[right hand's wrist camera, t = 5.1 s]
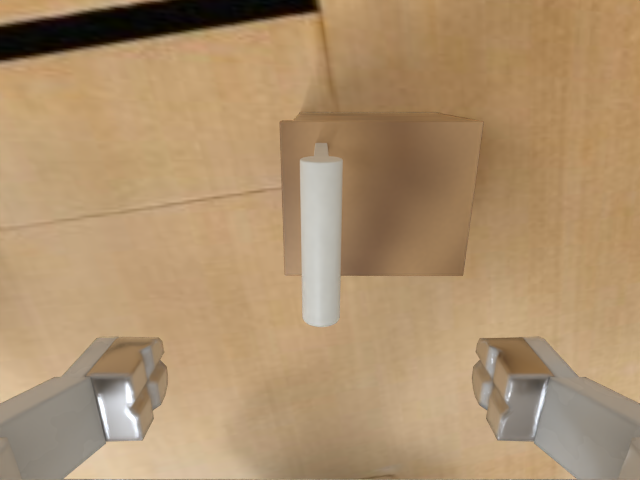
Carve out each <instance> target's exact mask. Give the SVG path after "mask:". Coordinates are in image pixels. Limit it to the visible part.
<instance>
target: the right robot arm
mask: <svg viewBox="0 0 640 480" xmlns="http://www.w3.org/2000/svg"><path fill="white" fill-rule="evenodd" d="M163 353H164V348H163V343H162V340H161V339H159V338H149V337H100V338H96V339H95V341H94V342H93V343H92V344H91V345H90V346H89V347H88V348H87V349H86V350H85V351H84V353H83V354H82V355H81V356H80V357H79V358H78V359H77V360H76V361H75V362H74V363H73V365H72V366H71V367H70V368H69V369H68V370H67V371H66V372H65V373H64V374H63V375H62V377H54V378H52V379H50V380H48V381H46V382H44V383H41V384H39V385H37V386H35V387H33V388H31V389H29V390H27V391H25V392H23V393H21V394H19V395H17V396H15V397H13V398H11V399H9V400H7V401H5V402H3V403H1V404H0V480H640V404H639V403H637V402H635V401H633V400H631V399H629V398H627V397H625V396H623V395H621V394H619V393H617V392H615V391H613V390H611V389H609V388H607V387H605V386H603V385H601V384H598V383H596V382H594V381H592V380H590V379H588V378H586V377H578V375H577V374H576V373H575V372H574V371H573V370H572V369H571V368H570V367H569V366H568V365H567V363H566V362H565V361H564V360H563V359H562V358H561V357H560V356H559V355H558V354H557V353H556V351H555V350H554V349H553V348H552V347H551V346H550V345H549V344H548V343H547V342H546V340H545V339H543V338H541V337H519V338H480V339H479V341H478V343H477V347H476V353H477V355H478V357H479V359H480V360H479V361H478V363H477V364H476V365H475V366H474V367H473V374H472V383H473V390H474V394H475V397H476V399H477V401H478V403H479V405H480V406H482V407H483V408H485V409H486V410H487V417H486V419H487V421H488V423H489V425H490V427H491V429H492V431H493V433H494V435H495V437H496V438H497V440H502V441H534V444H536V445H537V446H538V447H539V448H541V449H542V450H543V451H544V452H545V453H547V454H548V455H549V456H550V457H551V458H553V459H554V460H555V461H556V462H557V463H559V464H560V465H561V466H562V467H563V468H565V469H566V470H567V471H568V472H569V473H571V474H572V475H573V476H574V477H575V478H577V479H63V478H65V477H66V476H67V475H68V474H69V473H71V472H72V471H73V470H74V469H76V468H77V467H78V466H79V465H80V464H82V463H83V462H84V461H85V460H86V459H88V458H89V457H90V456H91V455H92V454H94V453H95V452H96V451H97V450H98V449H100V448H101V447H102V446H103V445H104V444H106V441H137V440H143V439H144V437H145V435H146V433H147V431H148V429H149V427H150V425H151V423H152V421H153V419H154V417H153V410H154V409H155V408H157V407H158V406H160V405H161V403H162V401H163V399H164V397H165V394H166V389H167V385H168V373H167V367H166V366H165V365H164V364H163V363H162V361H161V360H160V359H161V357H162V355H163Z"/></svg>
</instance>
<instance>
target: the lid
mask: <svg viewBox="0 0 640 480" xmlns="http://www.w3.org/2000/svg"><path fill="white" fill-rule="evenodd" d="M483 123H484V122H483V121H478V120H282V121H280V147H281V177H282V207H283V237H284V268H285V275H287V276H302V317H303V320H304V321H305V322H306V323H307V324H309V325H312V326H316V327H327V326H331V325H333V324H335V323H336V322H337V321H338V320H339V318H340V276H463V271H464V264H465V257H466V249H467V242H468V234H469V227H470V220H471V212H472V205H473V197H474V190H475V183H476V175H477V168H478V160H479V153H480V146H481V138H482V131H483Z"/></svg>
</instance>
